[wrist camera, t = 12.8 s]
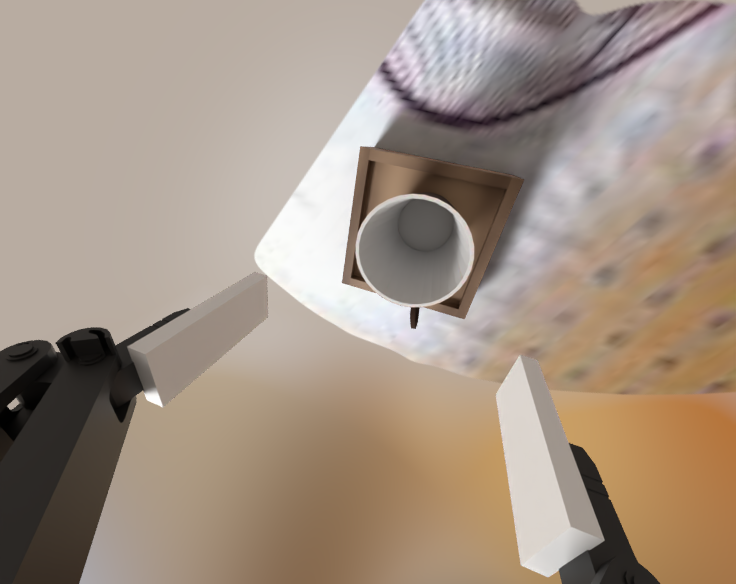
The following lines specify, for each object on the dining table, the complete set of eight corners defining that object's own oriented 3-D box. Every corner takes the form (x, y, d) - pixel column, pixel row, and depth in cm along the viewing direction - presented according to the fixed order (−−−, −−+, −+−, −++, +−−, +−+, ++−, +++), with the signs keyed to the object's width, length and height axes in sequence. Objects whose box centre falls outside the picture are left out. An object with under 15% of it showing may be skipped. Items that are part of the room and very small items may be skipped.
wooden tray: (513, 175, 27) (524, 179, 23) (463, 298, 35) (464, 319, 31) (374, 147, 30) (360, 146, 26) (355, 268, 37) (342, 282, 33)
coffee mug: (406, 164, 26) (381, 171, 18) (487, 203, 26) (501, 229, 17) (364, 264, 32) (330, 304, 24) (429, 296, 32) (418, 349, 23)
